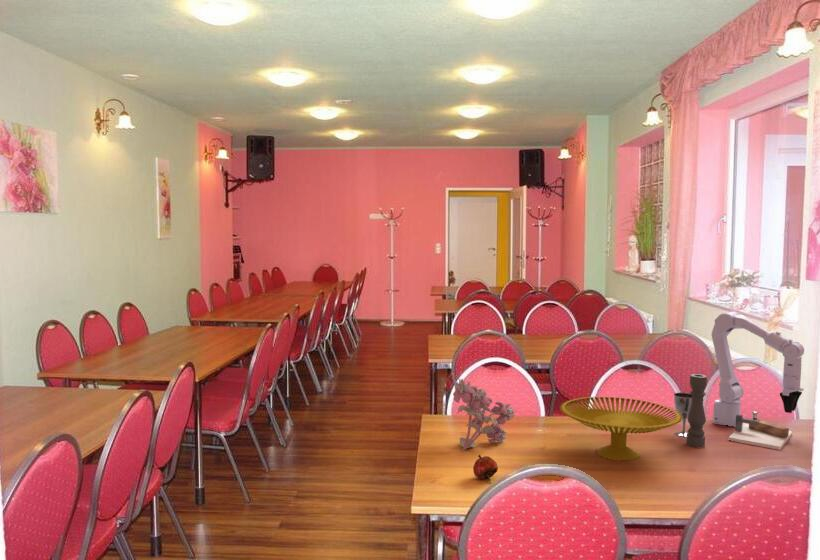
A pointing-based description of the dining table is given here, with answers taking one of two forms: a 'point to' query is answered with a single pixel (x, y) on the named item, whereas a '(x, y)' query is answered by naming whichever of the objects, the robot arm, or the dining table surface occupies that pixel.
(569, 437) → the dining table surface
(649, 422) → the pedestal fruit bowl
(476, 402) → the flower
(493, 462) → the pomegranate
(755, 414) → the metal pin
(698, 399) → the candle holder
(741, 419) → the metal keeper
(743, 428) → the white plate
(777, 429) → the walnut link
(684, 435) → the wine glass
